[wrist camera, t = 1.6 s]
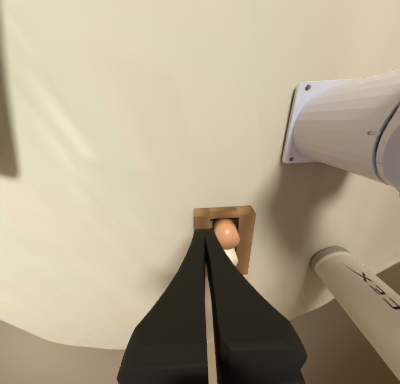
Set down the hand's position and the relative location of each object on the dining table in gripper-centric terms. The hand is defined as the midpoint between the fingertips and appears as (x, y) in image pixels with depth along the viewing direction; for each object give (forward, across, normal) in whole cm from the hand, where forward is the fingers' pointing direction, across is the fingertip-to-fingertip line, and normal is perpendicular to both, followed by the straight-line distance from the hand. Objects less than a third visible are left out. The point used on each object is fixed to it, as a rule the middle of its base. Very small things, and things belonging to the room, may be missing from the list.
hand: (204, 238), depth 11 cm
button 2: (+7, -3, +5) cm, 9 cm away
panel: (+9, -3, +9) cm, 13 cm away
